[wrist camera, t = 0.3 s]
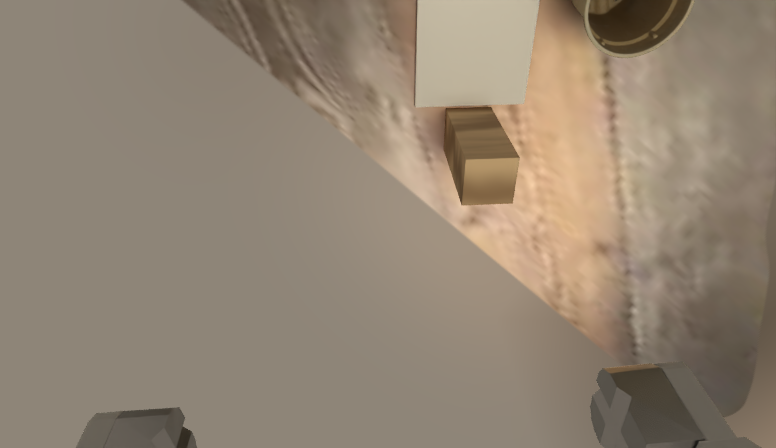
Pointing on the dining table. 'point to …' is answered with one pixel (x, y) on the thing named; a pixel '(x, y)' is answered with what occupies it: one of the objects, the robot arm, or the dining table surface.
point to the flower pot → (632, 24)
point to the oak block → (480, 156)
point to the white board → (473, 51)
